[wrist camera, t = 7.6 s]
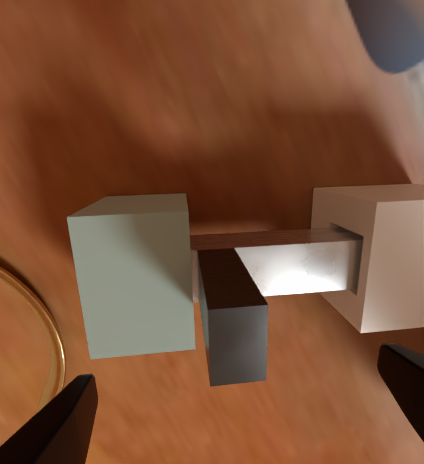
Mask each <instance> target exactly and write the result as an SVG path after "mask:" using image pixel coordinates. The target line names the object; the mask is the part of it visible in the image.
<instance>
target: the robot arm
mask: <svg viewBox="0 0 424 464" xmlns="http://www.w3.org/2000/svg"><path fill="white" fill-rule="evenodd" d="M377 368H378V371H379V373H380V375H381V377H382V379H383V380H384V382H385V383H386V385H387V387H388V388H389V390H390V392H391V393H392V395H393V397H394V398H395V400H396V401H397V403H398V405H399V406H400V408H401V410H402V411H403V413H404V414H405V416H406V418H407V419H408V421H409V422H410V424H411V425H412V426H413V428H414V429H415V431H416V432H417V434H418V435H419V436H420V438H421V439H422V440H423V442H424V355H421V354H419V353H417V352H414V351H412V350H410V349H408V348H405V347H403V346H401V345H398V344H396V343H387V344H382V345H381V346H380V350H379V356H378V363H377ZM97 405H98V394H97V388H96V382H95V377H94V375H93V374H84V375H79V376H77V377H76V378H75V379H74V380H73V381H71V382H70V383H69V384H68V385H67V386H66V387H65V388H64V389H63V390H62V391H61V392H59V393H58V394H57V395H56V396H55V397H54V398H53V399H52V400H51V401H50V402H48V403H47V404H46V405H45V406H44V407H43V408H42V409H41V410H40V411H39V412H38V413H36V414H35V415H34V416H33V417H32V418H31V419H30V420H29V421H28V422H27V423H26V424H24V425H23V426H22V427H21V428H20V429H19V430H18V431H17V432H16V433H15V434H13V435H12V436H11V437H10V438H9V439H8V440H7V441H6V442H5V443H4V444H3V445H1V446H0V464H85V462H86V458H87V453H88V448H89V443H90V439H91V434H92V429H93V424H94V419H95V414H96V410H97Z"/></svg>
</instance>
